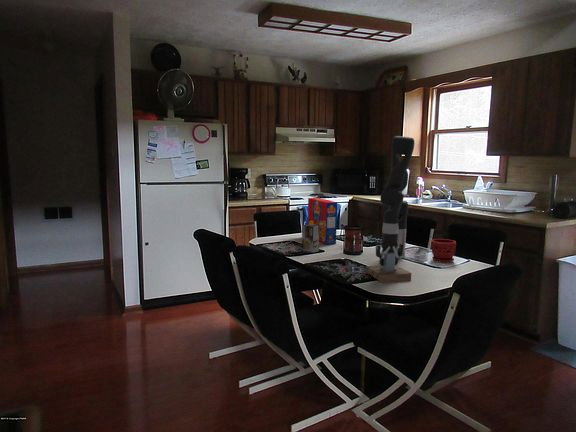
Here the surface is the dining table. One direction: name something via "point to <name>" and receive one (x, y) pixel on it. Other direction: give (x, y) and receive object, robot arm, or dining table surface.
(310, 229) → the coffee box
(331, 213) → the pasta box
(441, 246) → the plant pot
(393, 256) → the peg
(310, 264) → the dining table surface
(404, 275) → the socket block
